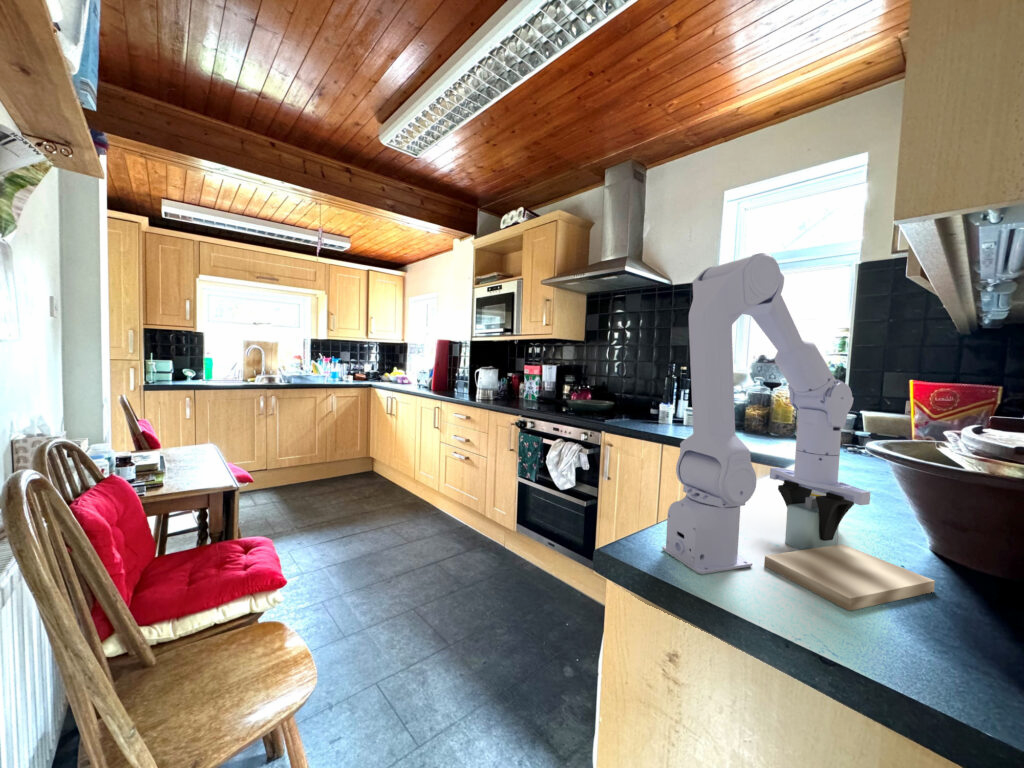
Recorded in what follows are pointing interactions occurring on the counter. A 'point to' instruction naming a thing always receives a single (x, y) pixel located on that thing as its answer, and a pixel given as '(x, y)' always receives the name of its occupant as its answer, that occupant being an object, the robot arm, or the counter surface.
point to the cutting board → (849, 576)
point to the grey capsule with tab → (805, 526)
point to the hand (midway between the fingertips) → (811, 533)
